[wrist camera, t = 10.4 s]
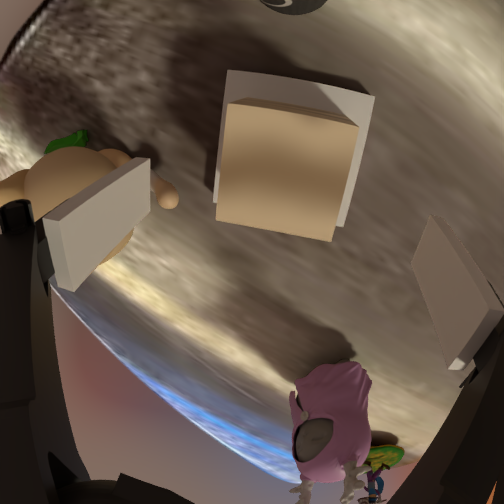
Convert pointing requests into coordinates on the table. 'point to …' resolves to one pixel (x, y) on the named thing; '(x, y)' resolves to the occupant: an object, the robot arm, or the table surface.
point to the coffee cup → (294, 6)
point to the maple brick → (284, 167)
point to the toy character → (331, 427)
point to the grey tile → (303, 95)
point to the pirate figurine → (379, 469)
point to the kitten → (74, 178)
